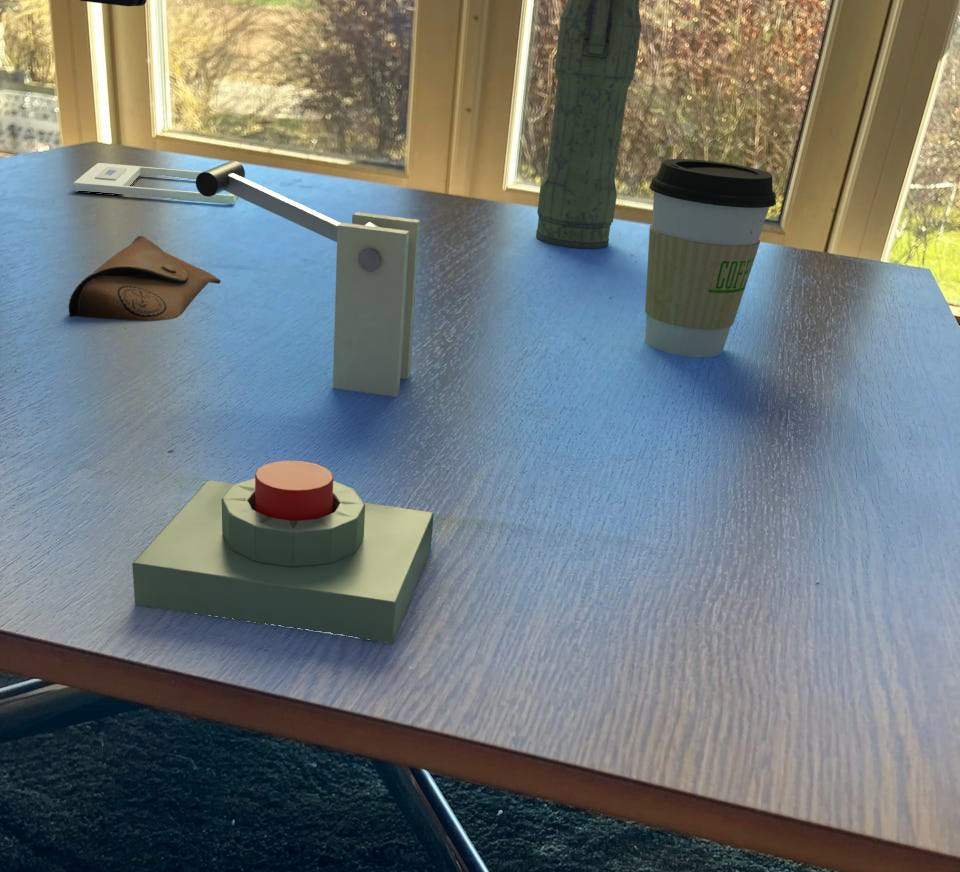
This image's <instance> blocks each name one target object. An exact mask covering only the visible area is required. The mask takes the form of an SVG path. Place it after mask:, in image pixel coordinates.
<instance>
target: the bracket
mask: <svg viewBox="0 0 960 872" xmlns="http://www.w3.org/2000/svg"><path fill="white" fill-rule="evenodd" d="M368 222H370V223H373V224H375V225H377V226H379V227H373V226H366V224H367V223H368ZM420 232H421V219H416V218H407V217H400V216H392V215H384V214H375V213H370V212H369V213H367V212H359V211H355V212H354V213H353V214H352V215H351V222H349V223H348V222H340V224H339V225H338V228H337V242H336V260H335V261H336V262H335V263H336V265H335V266H336V267H335V270H336V271H335V293H334V294H335V296H334V297H335V299H334V327H333V329H334V331H333V333H334V334H333V358H332V359H333V360H332V361H333V365H332V367H333V368H332V389H338V390H344V391H352V392H359V393H367V394H374V395H381V396H388V397H394V398H395V397H398V395H399V394H400V391H401V389H400V387H401V379H403V380H404V379H405V380H408V379H409V378H410V377H411V368H412V355H413V342H414V341H413V339H414V326H415V325H414V324H415V308H416V295H417V294H416V293H417V278H418V265H419V247H420V234H421V233H420Z"/></svg>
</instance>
